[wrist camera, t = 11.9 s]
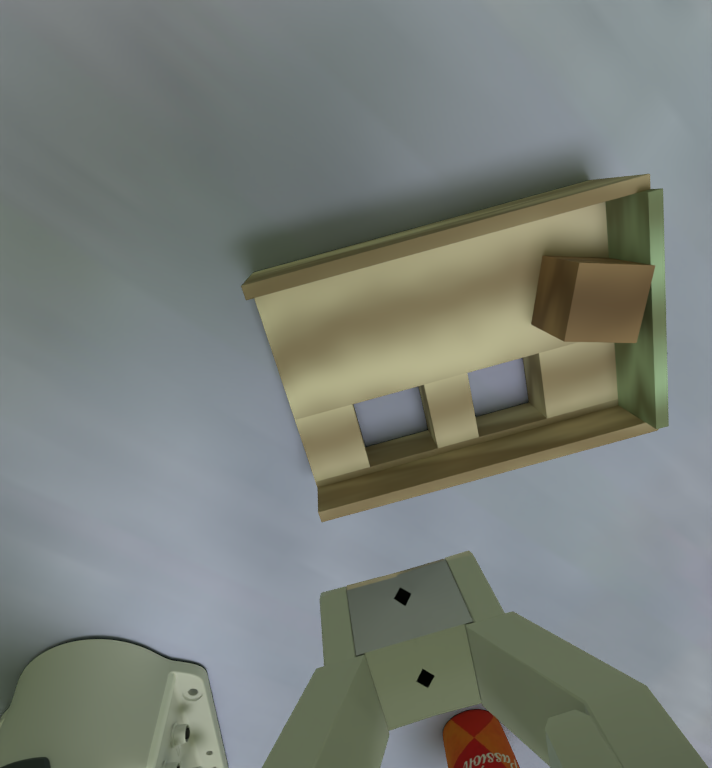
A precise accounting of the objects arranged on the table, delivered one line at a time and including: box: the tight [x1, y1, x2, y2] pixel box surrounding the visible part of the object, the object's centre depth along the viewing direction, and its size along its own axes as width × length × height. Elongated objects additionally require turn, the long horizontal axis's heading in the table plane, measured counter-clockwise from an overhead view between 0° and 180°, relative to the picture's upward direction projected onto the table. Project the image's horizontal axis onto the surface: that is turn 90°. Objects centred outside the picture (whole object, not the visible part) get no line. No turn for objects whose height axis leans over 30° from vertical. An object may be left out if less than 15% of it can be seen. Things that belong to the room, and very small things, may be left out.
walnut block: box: [531, 256, 655, 343], centre depth 29 cm, size 4×4×4 cm
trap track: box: [241, 174, 669, 522], centre depth 31 cm, size 16×23×7 cm
